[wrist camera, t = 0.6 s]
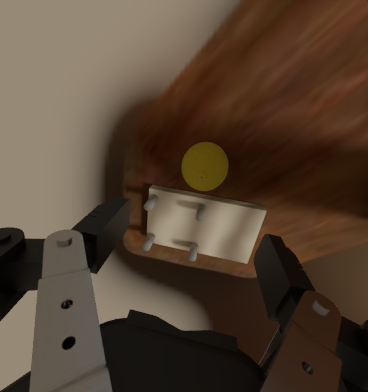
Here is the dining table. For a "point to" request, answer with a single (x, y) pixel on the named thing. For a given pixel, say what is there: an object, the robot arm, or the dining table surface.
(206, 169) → the lemon
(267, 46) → the dining table surface
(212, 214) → the peg board
